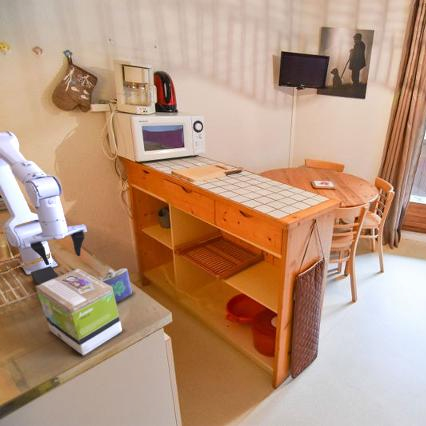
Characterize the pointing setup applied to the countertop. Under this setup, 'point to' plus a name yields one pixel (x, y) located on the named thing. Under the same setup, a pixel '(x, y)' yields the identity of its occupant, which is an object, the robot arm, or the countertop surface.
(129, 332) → the countertop surface
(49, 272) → the tongue pad
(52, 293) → the tea box
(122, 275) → the flask
